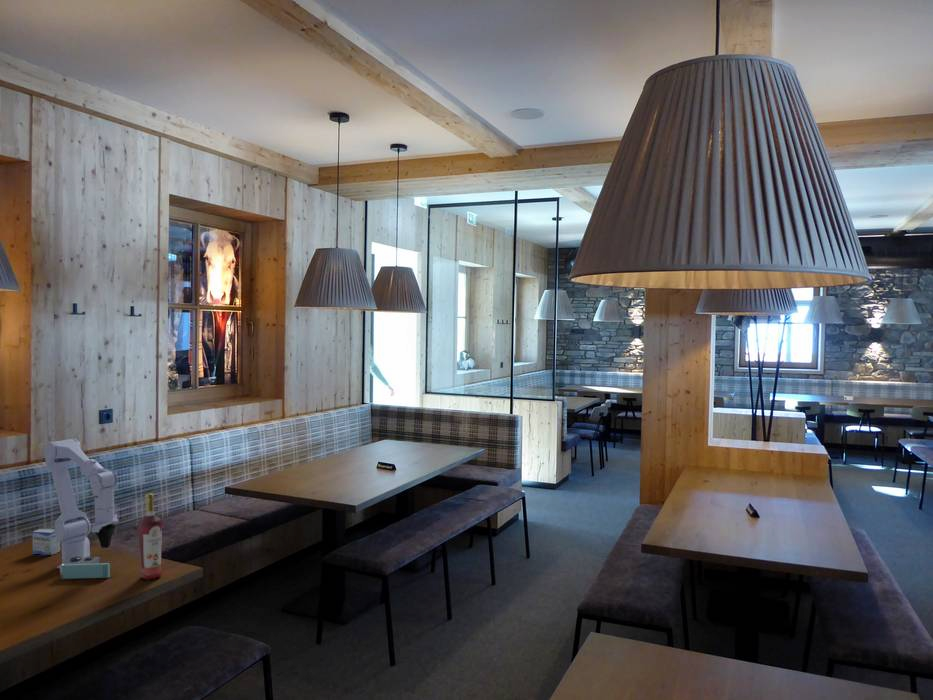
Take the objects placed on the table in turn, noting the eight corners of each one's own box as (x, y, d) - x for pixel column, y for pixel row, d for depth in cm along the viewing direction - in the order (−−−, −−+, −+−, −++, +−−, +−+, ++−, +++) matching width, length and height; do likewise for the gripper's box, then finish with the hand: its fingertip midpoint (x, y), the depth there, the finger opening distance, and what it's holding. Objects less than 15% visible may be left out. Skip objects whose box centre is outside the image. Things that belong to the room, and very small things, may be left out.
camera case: (72, 570, 233) (72, 556, 233) (99, 569, 234) (99, 555, 234) (62, 578, 226) (61, 563, 226) (90, 577, 227) (89, 562, 227)
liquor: (146, 583, 222) (144, 498, 220) (135, 578, 226) (132, 495, 225) (167, 576, 227) (165, 493, 226) (156, 571, 232) (154, 490, 231)
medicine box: (32, 555, 249) (31, 531, 249) (41, 551, 254) (41, 528, 253) (51, 556, 248) (50, 532, 248) (60, 552, 253) (59, 529, 252)
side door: (58, 580, 224) (58, 566, 224) (61, 578, 226) (61, 563, 226) (107, 578, 225) (107, 564, 225) (110, 576, 227) (109, 562, 227)
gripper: (107, 513, 222) (108, 554, 223) (125, 501, 237) (126, 539, 237) (84, 513, 222) (85, 554, 222) (104, 501, 236) (105, 540, 237)
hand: (105, 547), depth 230 cm, fingers closed
